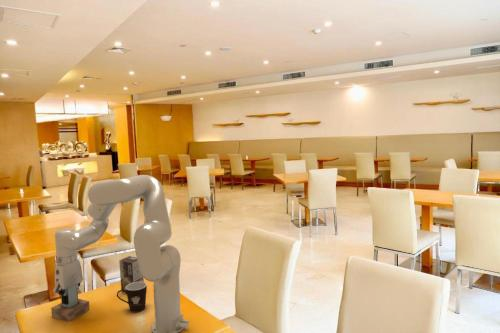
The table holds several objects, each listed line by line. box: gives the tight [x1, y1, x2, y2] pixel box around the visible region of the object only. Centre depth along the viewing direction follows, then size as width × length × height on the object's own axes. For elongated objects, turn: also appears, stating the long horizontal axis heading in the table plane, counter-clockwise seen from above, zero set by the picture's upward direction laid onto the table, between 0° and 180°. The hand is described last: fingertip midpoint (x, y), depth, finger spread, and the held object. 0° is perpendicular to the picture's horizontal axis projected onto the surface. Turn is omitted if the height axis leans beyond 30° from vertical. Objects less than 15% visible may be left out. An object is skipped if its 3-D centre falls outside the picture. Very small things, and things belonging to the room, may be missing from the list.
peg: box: [62, 285, 78, 308], centre depth 152 cm, size 4×4×10 cm
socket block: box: [50, 298, 91, 322], centre depth 152 cm, size 10×10×4 cm
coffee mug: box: [116, 282, 148, 313], centre depth 155 cm, size 12×9×10 cm
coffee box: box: [118, 255, 145, 295], centre depth 170 cm, size 9×6×16 cm
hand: (70, 301), depth 152 cm, fingers closed on peg, 4 cm apart
